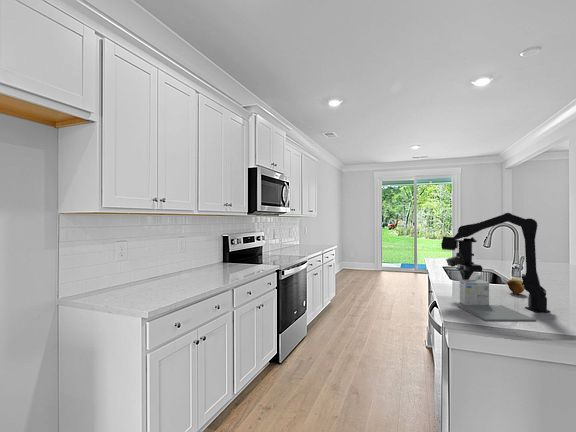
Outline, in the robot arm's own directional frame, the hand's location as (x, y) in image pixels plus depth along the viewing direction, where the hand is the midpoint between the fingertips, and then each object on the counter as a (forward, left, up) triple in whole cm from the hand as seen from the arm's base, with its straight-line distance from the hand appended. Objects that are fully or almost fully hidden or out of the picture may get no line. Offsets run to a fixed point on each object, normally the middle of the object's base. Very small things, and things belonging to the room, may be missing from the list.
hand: (465, 283), depth 160 cm
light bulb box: (-8, 0, -8) cm, 11 cm away
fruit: (+12, -34, -8) cm, 37 cm away
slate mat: (-22, 0, -8) cm, 24 cm away
